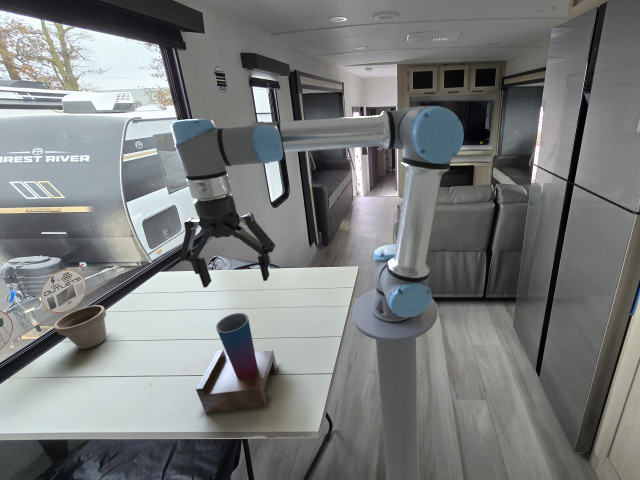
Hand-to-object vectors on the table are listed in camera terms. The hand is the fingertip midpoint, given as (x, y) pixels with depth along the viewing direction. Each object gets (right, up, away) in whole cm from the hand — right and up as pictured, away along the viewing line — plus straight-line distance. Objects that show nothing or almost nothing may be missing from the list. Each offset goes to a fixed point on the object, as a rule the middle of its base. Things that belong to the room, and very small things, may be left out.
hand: (237, 281), depth 74 cm
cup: (+1, -23, +4) cm, 23 cm away
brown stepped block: (-1, -29, +6) cm, 29 cm away
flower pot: (-58, -24, +24) cm, 67 cm away
